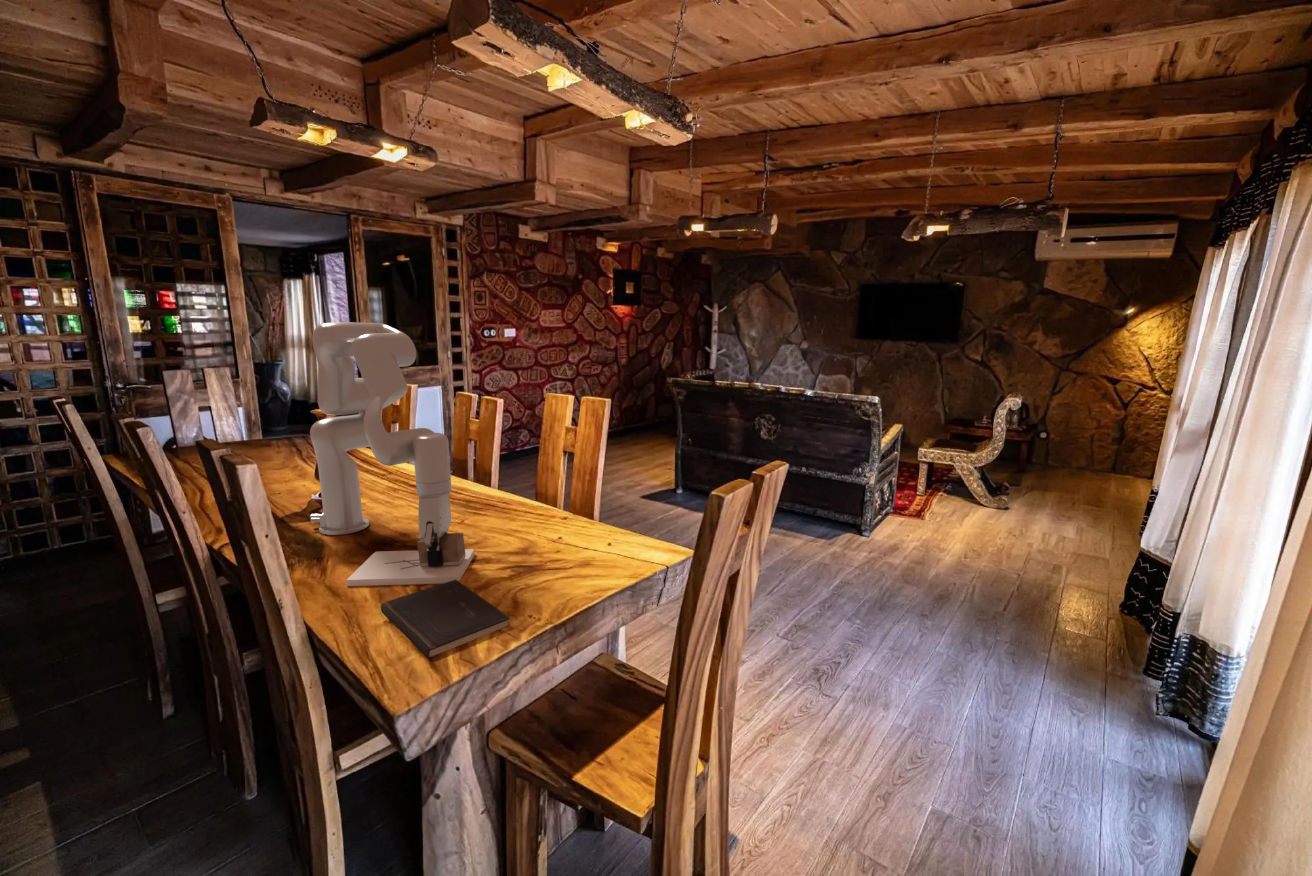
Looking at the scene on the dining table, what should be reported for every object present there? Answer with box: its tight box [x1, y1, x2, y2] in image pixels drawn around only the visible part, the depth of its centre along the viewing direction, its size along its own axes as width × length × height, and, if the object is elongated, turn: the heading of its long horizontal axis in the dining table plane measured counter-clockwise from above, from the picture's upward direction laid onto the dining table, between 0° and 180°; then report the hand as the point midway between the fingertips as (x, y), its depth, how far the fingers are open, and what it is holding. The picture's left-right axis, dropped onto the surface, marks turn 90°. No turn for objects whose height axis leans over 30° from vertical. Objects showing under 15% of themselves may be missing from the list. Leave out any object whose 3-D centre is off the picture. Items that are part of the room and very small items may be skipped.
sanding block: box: [416, 532, 466, 567], centre depth 134 cm, size 9×5×6 cm, turn 92°
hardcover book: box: [380, 580, 511, 659], centre depth 112 cm, size 16×23×2 cm
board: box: [346, 548, 476, 587], centre depth 135 cm, size 24×16×2 cm, turn 95°
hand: (439, 560), depth 135 cm, fingers closed on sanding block, 5 cm apart
